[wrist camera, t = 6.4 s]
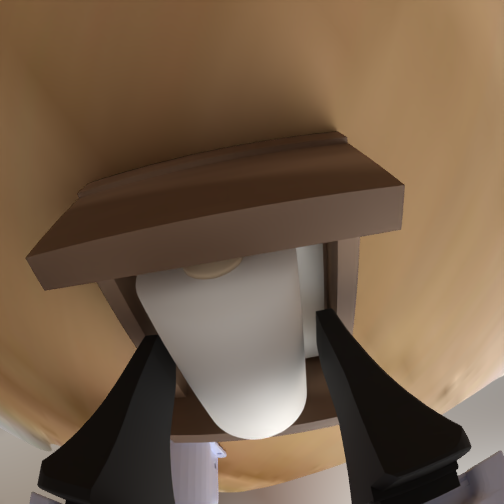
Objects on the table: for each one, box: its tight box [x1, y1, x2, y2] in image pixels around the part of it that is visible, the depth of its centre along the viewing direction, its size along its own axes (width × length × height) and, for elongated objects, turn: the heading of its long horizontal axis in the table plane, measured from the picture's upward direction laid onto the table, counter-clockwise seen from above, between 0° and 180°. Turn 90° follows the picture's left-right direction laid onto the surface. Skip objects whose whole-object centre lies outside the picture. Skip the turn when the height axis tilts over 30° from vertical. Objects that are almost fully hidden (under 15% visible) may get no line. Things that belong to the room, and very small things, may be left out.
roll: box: [136, 248, 307, 439], centre depth 11 cm, size 8×5×5 cm, turn 9°
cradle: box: [26, 132, 405, 443], centre depth 12 cm, size 13×10×5 cm
